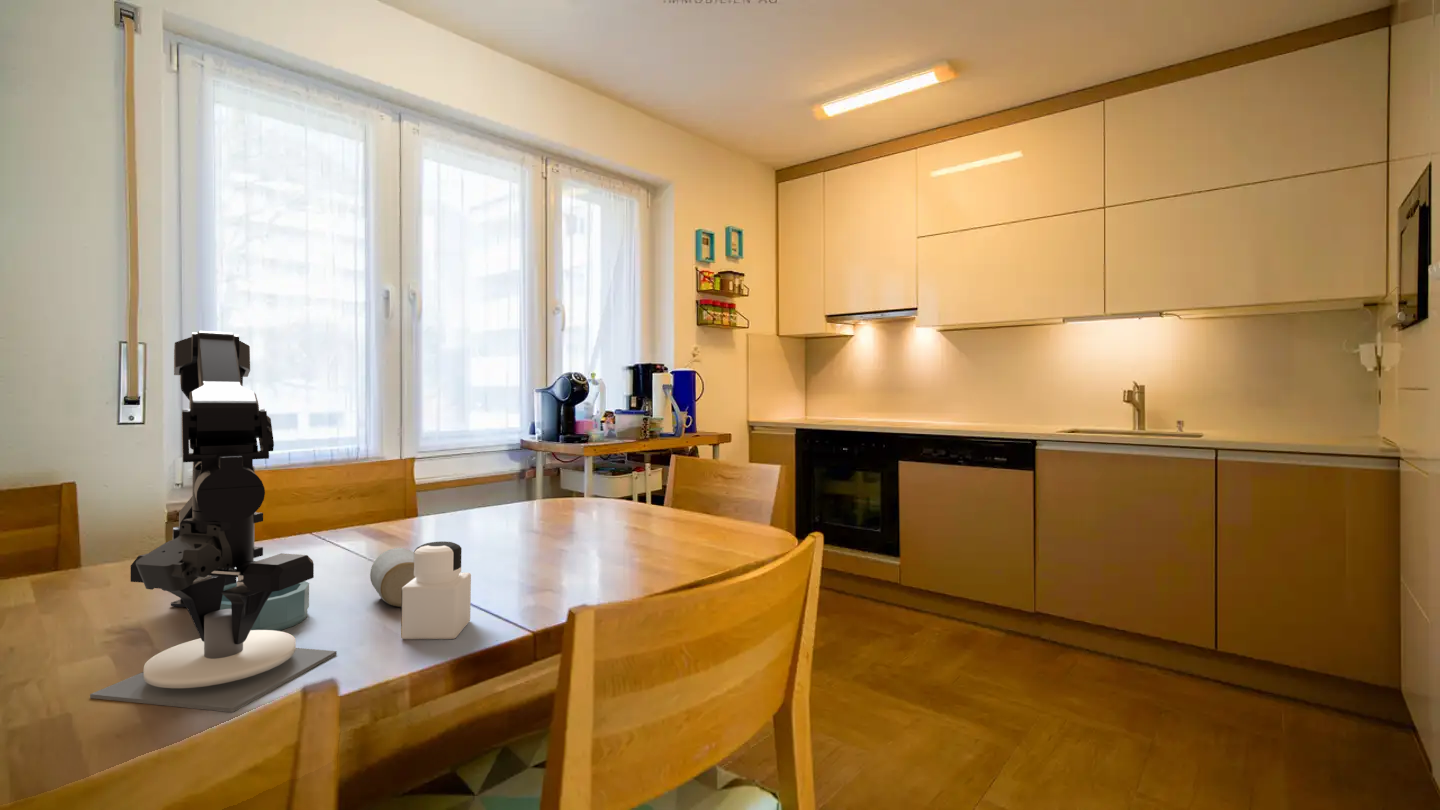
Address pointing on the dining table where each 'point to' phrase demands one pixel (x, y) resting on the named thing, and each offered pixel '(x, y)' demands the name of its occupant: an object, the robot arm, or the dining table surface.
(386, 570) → the ceramic mug
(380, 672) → the dining table surface
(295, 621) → the bowl
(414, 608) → the medicine bottle
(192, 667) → the lid
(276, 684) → the mat
